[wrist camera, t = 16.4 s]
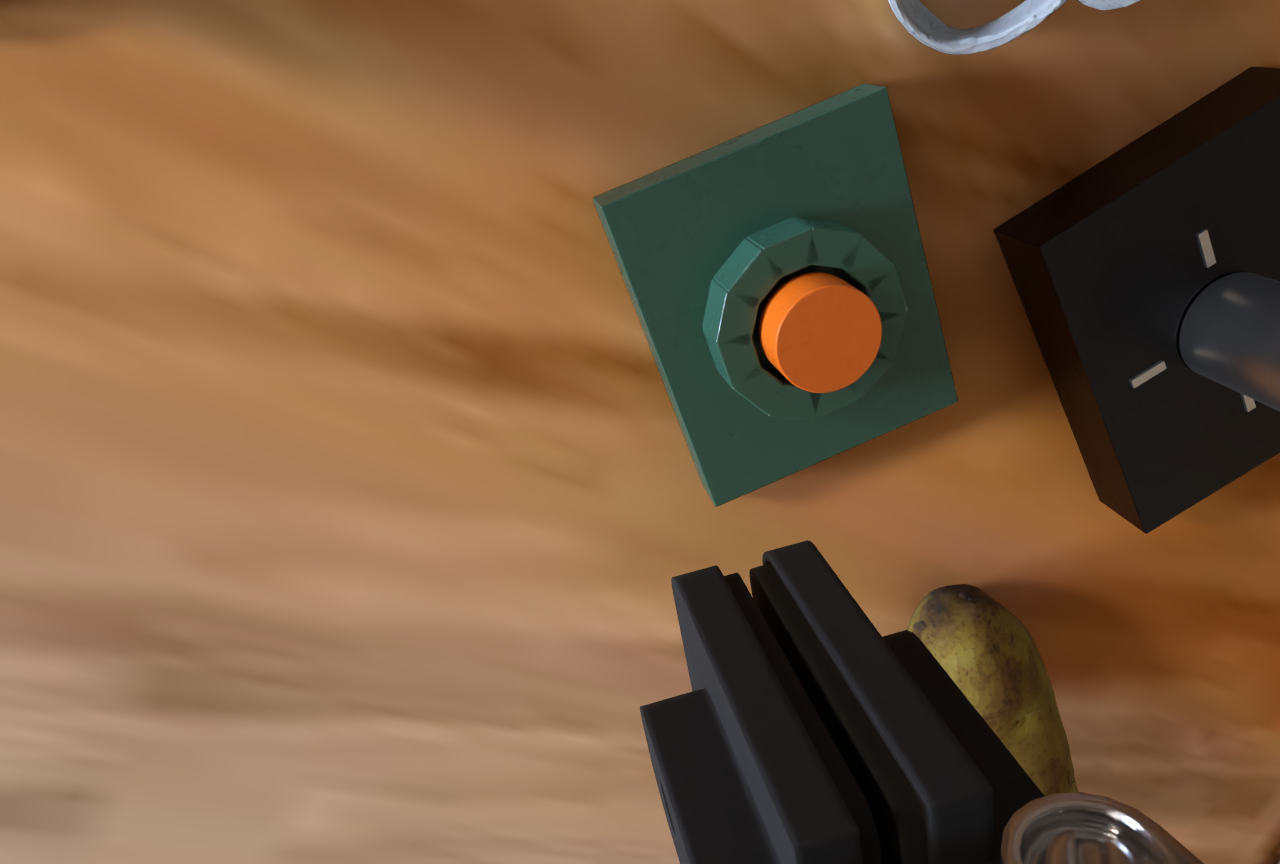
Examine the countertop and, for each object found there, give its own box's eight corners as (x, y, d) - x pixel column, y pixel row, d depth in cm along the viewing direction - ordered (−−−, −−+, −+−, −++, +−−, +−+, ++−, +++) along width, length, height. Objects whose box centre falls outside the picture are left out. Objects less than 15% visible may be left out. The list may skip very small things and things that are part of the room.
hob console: (992, 229, 35) (1042, 248, 32) (1252, 66, 35) (1325, 70, 32) (1099, 500, 41) (1148, 536, 39) (1320, 365, 41) (1387, 391, 38)
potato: (1064, 561, 42) (1194, 673, 35) (990, 786, 47) (1092, 925, 40) (893, 562, 40) (995, 681, 33) (835, 797, 45) (912, 944, 38)
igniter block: (591, 197, 32) (610, 217, 29) (864, 82, 32) (913, 90, 29) (703, 487, 37) (729, 531, 34) (937, 386, 37) (984, 420, 34)
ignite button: (744, 297, 31) (761, 312, 29) (845, 254, 31) (868, 267, 29) (775, 391, 32) (793, 410, 31) (871, 350, 33) (893, 367, 31)
